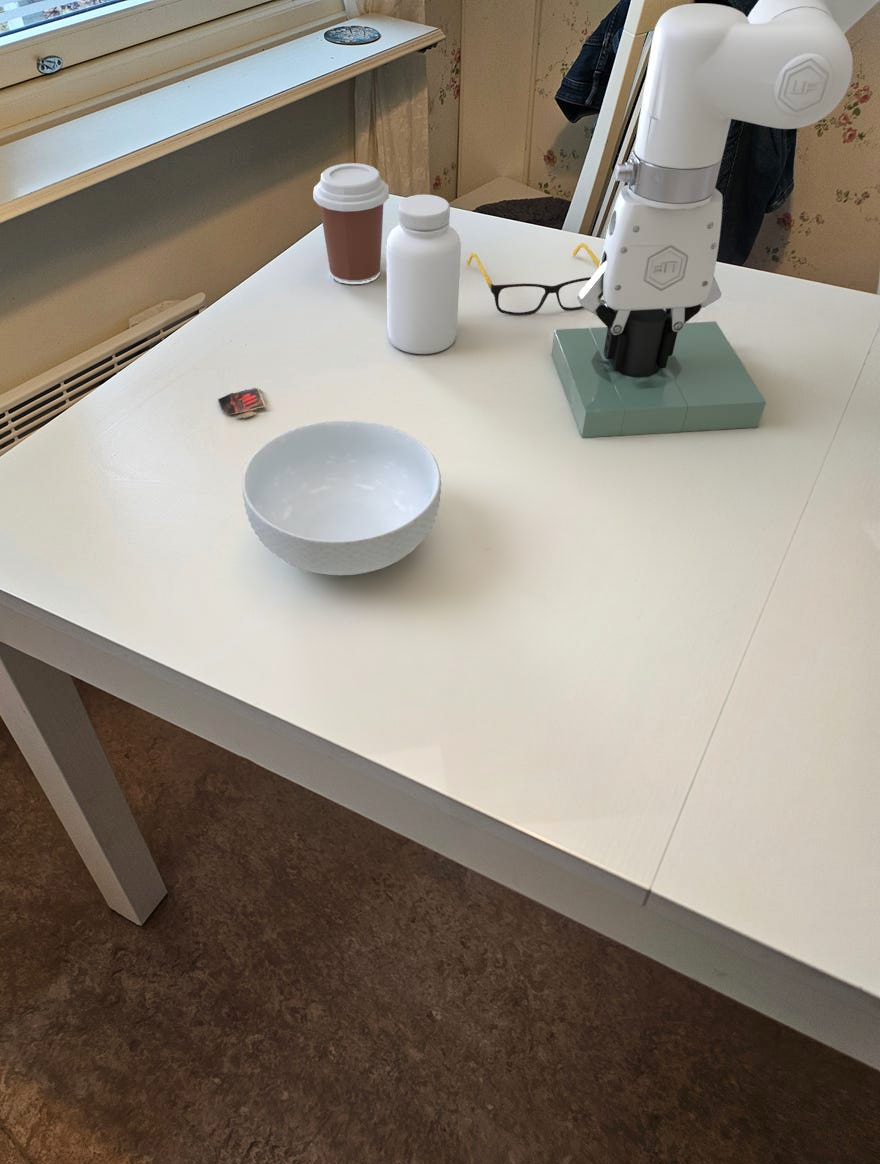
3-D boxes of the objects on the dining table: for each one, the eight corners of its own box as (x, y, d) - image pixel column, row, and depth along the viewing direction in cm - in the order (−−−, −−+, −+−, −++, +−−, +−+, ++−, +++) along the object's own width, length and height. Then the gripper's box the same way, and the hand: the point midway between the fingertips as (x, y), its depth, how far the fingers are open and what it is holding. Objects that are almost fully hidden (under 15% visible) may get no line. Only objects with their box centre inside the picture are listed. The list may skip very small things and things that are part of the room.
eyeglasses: (491, 320, 106) (493, 288, 103) (466, 265, 115) (467, 234, 112) (608, 309, 107) (614, 277, 104) (574, 256, 117) (578, 224, 114)
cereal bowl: (457, 592, 75) (460, 527, 70) (258, 618, 73) (246, 553, 68) (421, 470, 86) (421, 407, 81) (247, 490, 85) (236, 426, 80)
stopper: (648, 355, 95) (660, 301, 90) (659, 376, 92) (671, 321, 88) (611, 357, 95) (621, 303, 90) (620, 378, 92) (630, 323, 88)
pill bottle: (446, 361, 100) (449, 224, 89) (378, 350, 102) (373, 214, 91) (465, 327, 105) (471, 193, 94) (400, 316, 107) (398, 184, 96)
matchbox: (213, 402, 95) (212, 398, 94) (256, 386, 97) (256, 383, 96) (233, 423, 92) (233, 419, 92) (277, 407, 94) (277, 403, 94)
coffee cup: (364, 297, 110) (359, 195, 101) (305, 279, 114) (295, 179, 105) (404, 267, 115) (403, 168, 106) (347, 251, 119) (341, 154, 110)
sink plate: (709, 345, 101) (715, 321, 99) (758, 427, 90) (766, 401, 88) (551, 354, 100) (554, 329, 98) (581, 437, 90) (585, 412, 87)
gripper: (589, 197, 77) (563, 386, 90) (781, 188, 77) (726, 377, 91) (571, 164, 82) (549, 348, 95) (751, 156, 82) (704, 340, 96)
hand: (636, 360), depth 93 cm, fingers closed on stopper, 4 cm apart
